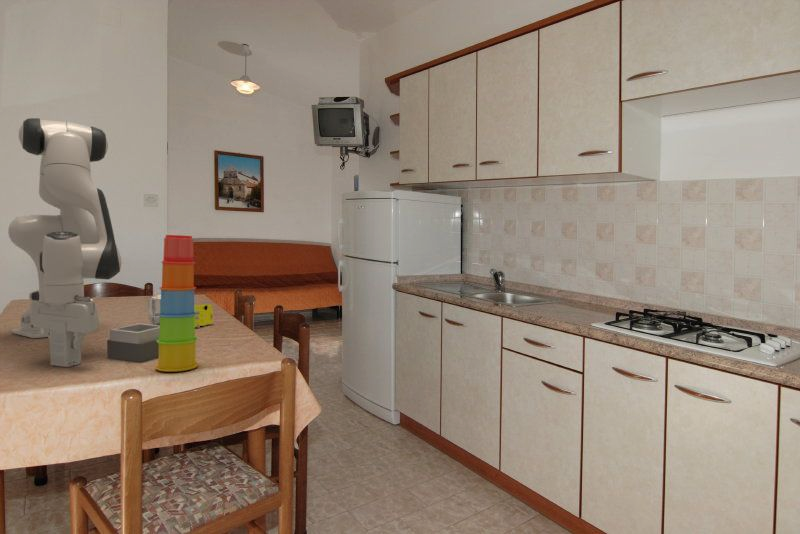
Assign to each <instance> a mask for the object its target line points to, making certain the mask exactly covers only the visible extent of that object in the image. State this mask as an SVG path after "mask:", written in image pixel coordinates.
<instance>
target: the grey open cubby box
mask: <svg viewBox="0 0 800 534" xmlns="http://www.w3.org/2000/svg"><path fill="white" fill-rule="evenodd" d="M159 332H160V326H159V325H150V324H149V323H148V324H147V323H140V322H139V323H134V324H130V325H126V326H125V325H124V326H121V327H115V328H111V329H109V339H107V341H106V342H107V343H106V344H107V345H106V347H107V353H106V354H107V355H106V356H107V359H113V360H119V359H120V360H121V361H126V360H129V361H128V362H133V361H135V362H134V363H141V362H142V363H144V361H145V362H149V361H152V360H154V358H155V359H157V357H158V358H159V343H157V340H158V339H159ZM151 359H152V360H151Z"/></svg>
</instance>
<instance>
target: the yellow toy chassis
mask: <svg viewBox="0 0 800 534" xmlns="http://www.w3.org/2000/svg"><path fill="white" fill-rule="evenodd" d="M194 312H196V313H197V314H196V315H195V328H197V329H199V328H200V326H203V327H206V325H207V326H208V325H210V324H214V320H213V319H214V309H213V306H212V305H211V304H209V303H205V304H199V305H194Z"/></svg>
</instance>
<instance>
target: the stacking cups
mask: <svg viewBox="0 0 800 534" xmlns="http://www.w3.org/2000/svg"><path fill="white" fill-rule="evenodd" d="M160 262H161V263H162V268H161V270H162V271H161V273H162V274H161V275H162V276H161V286H160V287H159V289H160V290H161V291H160V296H161V313H159V314H158V316H160V332H159V339H158V340H157V343H159V357H158V363H157V365H155V370H157V371H159V372H167V373H171V372H174V373H175V372H184V371H185V372H186V371H189V370H193V369H196V368H198V367H199V362H198V361H196V360H197V357H196V354H197V353H196V342H197V341H198V340H199V338H198V337H197V336H196V327H195V315H196V314H197V313H196V312H194V306H195V290H196V289H197V287H196V286H195V285H194V283H195V278H194V277H195V276H194V274H195V273H194V272H195V270H194V266H195V264H196V261H194V238H193V236H192V235H181V234H176V235H175V234H165V237H164V238H163V260H161V261H160Z"/></svg>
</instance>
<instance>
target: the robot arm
mask: <svg viewBox="0 0 800 534" xmlns="http://www.w3.org/2000/svg"><path fill="white" fill-rule="evenodd" d="M18 140H19V143H20V144H21V146H22V149H23V150H24V151H25V152H26V153H28V154H31V155H35V156H41V158H40V165H39V166H40V167H39V180H38V181H39V185H38V194H39V197H40V199H41V200H43V202H45V203H46V204H48V205H50V206H52V207H54V208H57V209H59V211H60V213H59V214H57V215H56V214H55V215H53V214H50V215H49V214H48V215H47V214H29V215H23V216H18V217H17V216H16V217H15V218H14V219H13V220H12V221H11V222H10V224H9V225H8V230H7V231H8V237H9V239H10V241H11V242H12V244H13V245H15V247H17V248H19V249H21V250H22V251H24V252H25V253H26V254H27V255H28V256H29V257H30V258H31V260H32V261H33V263H34V265H35V267H36V271H37V277H38V289H37V290H34V291H30V292H29V293H28V299H29V301H31V302H30V306H29V308H28V309H27V310H25V311H24V312H23V313H22V314H21V315H20V316H21V317H20V326H19V327H16V328H13V329H11V334H16V335H19V336H23V337H27V338H31V339H38V338H39V339H40V338H48V339H49V340H50V326H49V320H57V321H65V322H66V329H67V331H68V332H73V336H75V339H74V341H73V342H71V348H72V349H80V348H81V349H82V342H83V340H84V337H85V335H86V334H87V335H88V334H93V333H96V332H98V331H99V329H100V320H99V319H100V318H99V314H98V308H97V306H96V302H95V301H94V300H93V299H92V297H90V296H85V281H84V279H95V280H110V279H112V278H114V277H115V276H117V275H118V274H119V273H120V272H121V269H122V256H121V253H120V251H119V248H118V246H117V243H116V240H115V233H114V230H113V224H112V220H111V219H112V218H111V216H110V211H109V207H108V204H107V200H106V196H105V194H104V192H103V191H102V190H101V189H100V188H99V187H98V188H97V187H96V185H95V184H94V182H93V180H92V175H91V173H92V172H91V163H92V162H100V161H101V160H103V159H104V158H105V156H106V154H107V153H108V150H109V149H108V148H109V142H108V138H107V137H106V133H105V132H104V130H102V129H101V128H98V127H95V126H87V125H84V124H80V123H76V122H71V121H62V120H61V121H60V120H51V119H41V118H39V117H37V118H36V117H34V118H32V117H31V118H29V117H28V118H26V119H25V120H23V122H22V124H21V125H20V128H19V129H18Z"/></svg>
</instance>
